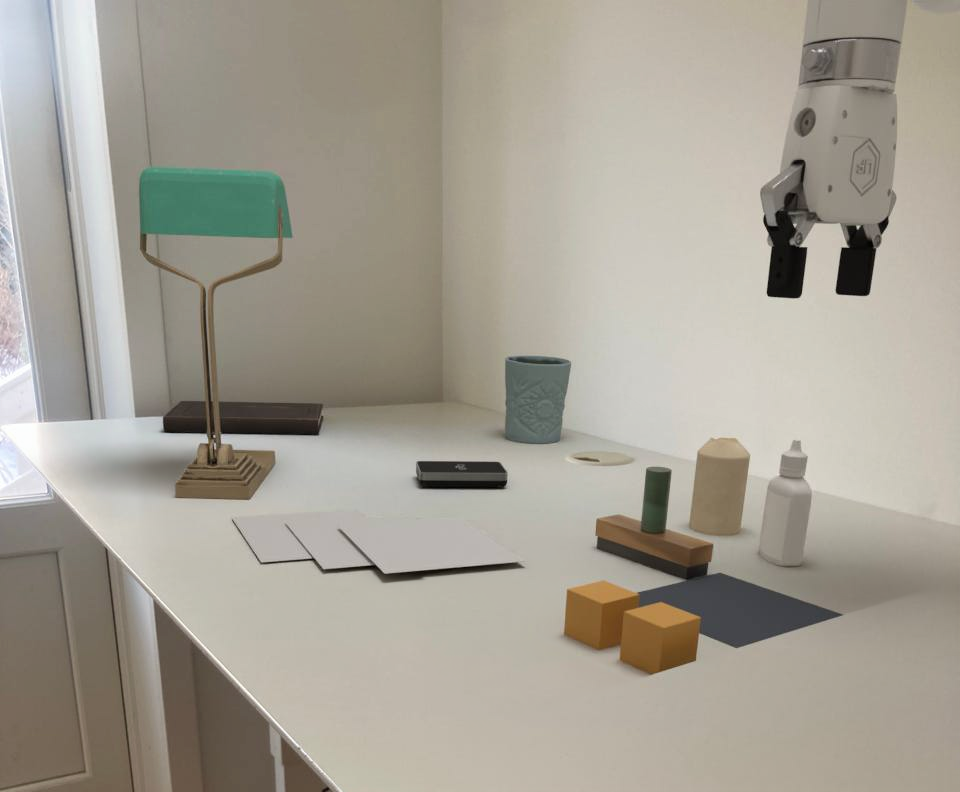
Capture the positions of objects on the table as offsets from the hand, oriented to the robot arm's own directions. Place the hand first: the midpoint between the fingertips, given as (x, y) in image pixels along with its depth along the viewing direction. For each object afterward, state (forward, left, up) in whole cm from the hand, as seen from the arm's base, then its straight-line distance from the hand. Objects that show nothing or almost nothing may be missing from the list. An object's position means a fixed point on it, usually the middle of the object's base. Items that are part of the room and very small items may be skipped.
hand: (818, 296), depth 89 cm
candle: (-7, -14, -26) cm, 30 cm away
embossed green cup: (-24, -65, -26) cm, 74 cm away
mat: (+12, +6, -25) cm, 29 cm away
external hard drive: (+4, -46, -26) cm, 53 cm away
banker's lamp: (+28, -62, -26) cm, 73 cm away
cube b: (+26, +3, -25) cm, 37 cm away
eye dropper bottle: (-4, -3, -26) cm, 26 cm away
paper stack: (+28, -29, -25) cm, 48 cm away
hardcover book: (+10, -95, -26) cm, 99 cm away
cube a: (+26, +9, -25) cm, 38 cm away
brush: (+8, -9, -25) cm, 28 cm away
